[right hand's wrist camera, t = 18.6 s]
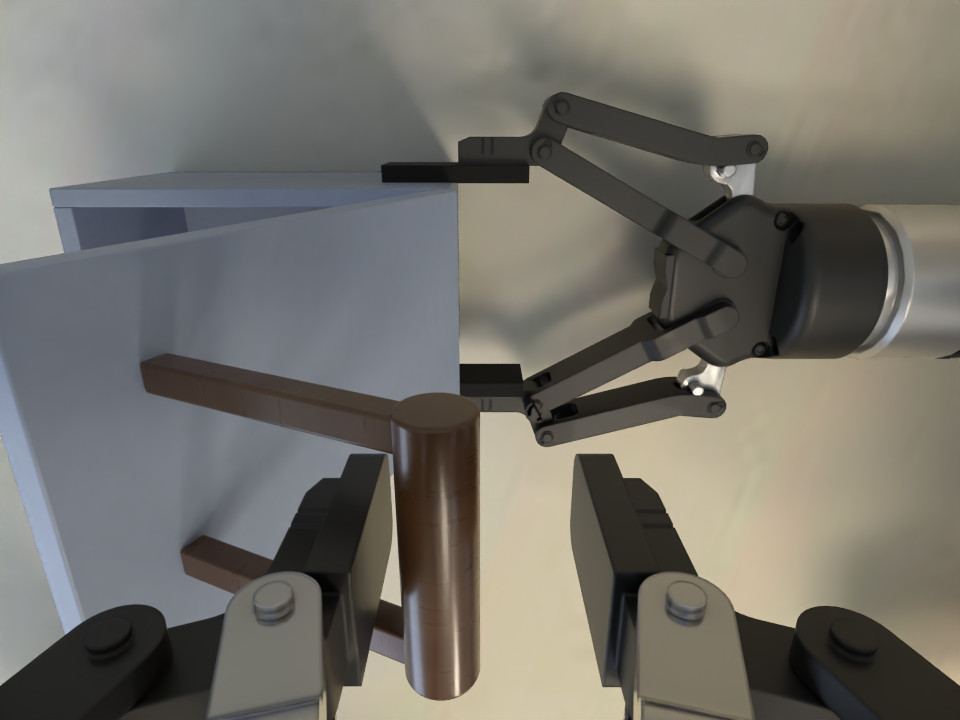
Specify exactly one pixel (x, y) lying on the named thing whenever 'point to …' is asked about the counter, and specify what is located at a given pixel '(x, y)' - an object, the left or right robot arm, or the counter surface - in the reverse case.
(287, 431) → the lid
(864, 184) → the counter surface
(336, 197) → the chest
